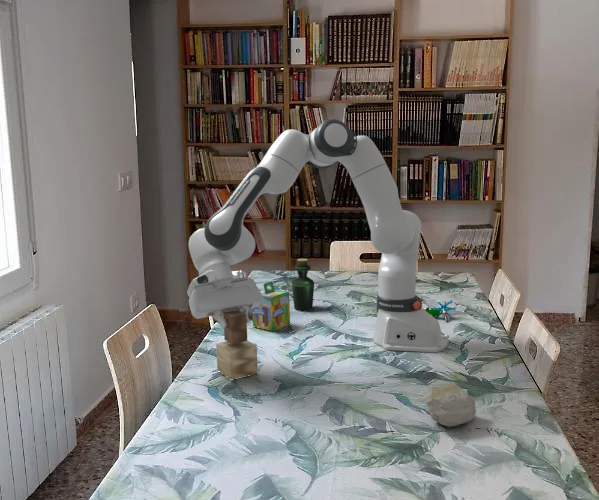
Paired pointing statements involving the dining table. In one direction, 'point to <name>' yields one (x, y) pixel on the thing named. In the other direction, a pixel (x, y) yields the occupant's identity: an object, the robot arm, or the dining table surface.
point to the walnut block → (236, 327)
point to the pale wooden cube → (237, 359)
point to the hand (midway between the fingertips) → (236, 324)
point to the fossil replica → (450, 405)
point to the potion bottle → (302, 287)
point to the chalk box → (272, 309)
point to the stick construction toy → (443, 308)
